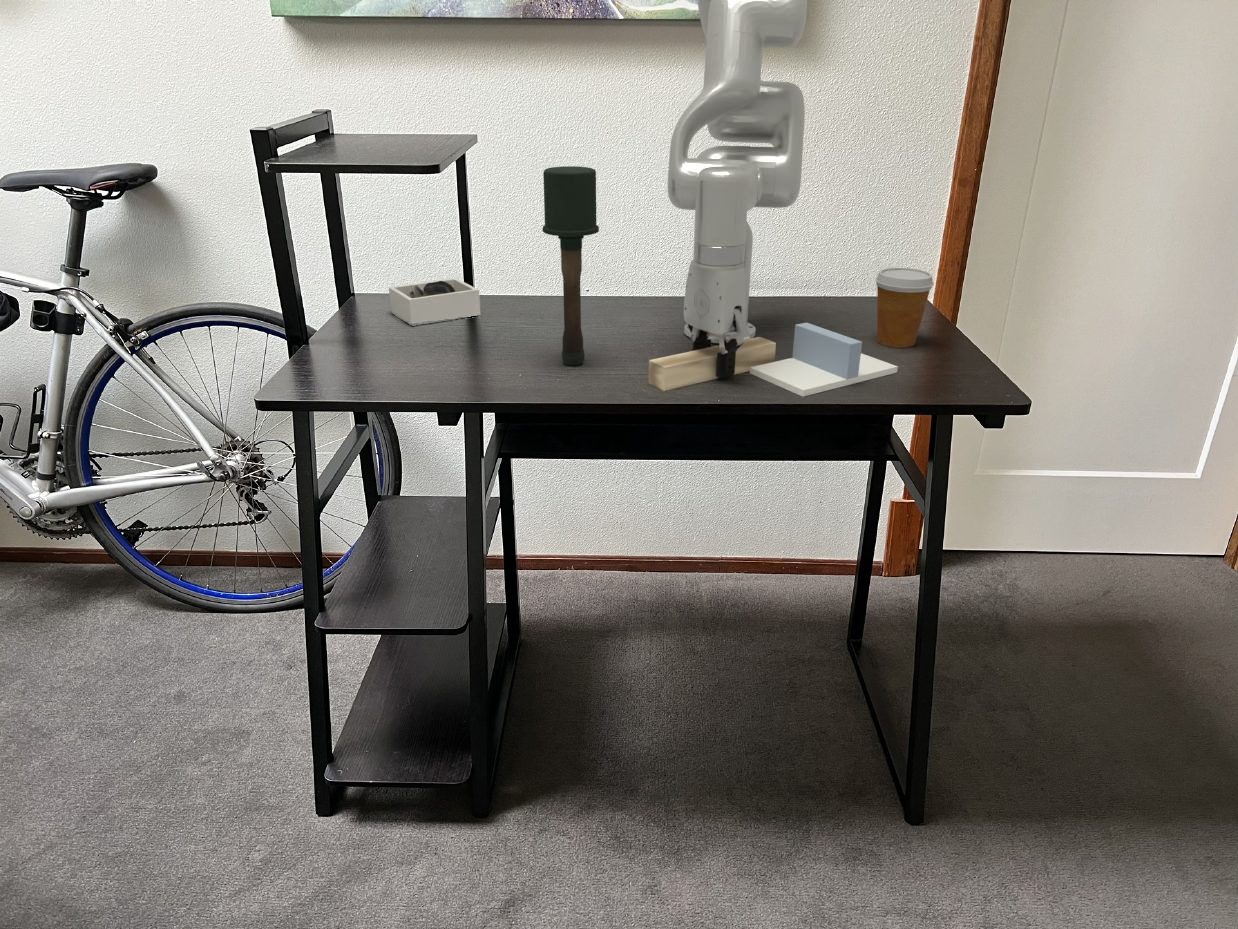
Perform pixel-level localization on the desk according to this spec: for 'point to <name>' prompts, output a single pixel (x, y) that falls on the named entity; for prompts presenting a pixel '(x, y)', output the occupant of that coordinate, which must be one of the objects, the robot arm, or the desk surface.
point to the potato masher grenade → (570, 241)
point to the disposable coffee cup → (901, 304)
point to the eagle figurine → (433, 289)
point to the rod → (706, 364)
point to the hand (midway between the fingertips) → (713, 369)
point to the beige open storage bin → (435, 302)
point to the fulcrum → (822, 363)
